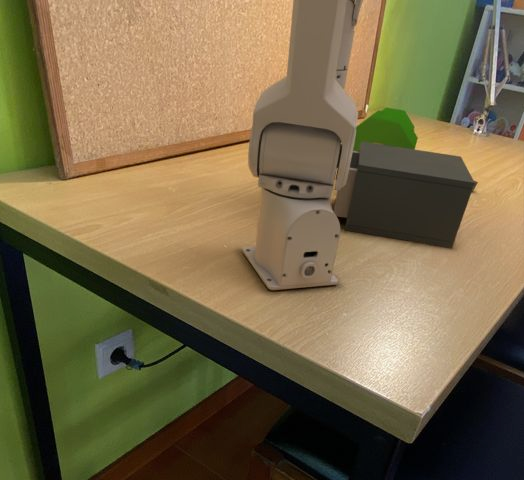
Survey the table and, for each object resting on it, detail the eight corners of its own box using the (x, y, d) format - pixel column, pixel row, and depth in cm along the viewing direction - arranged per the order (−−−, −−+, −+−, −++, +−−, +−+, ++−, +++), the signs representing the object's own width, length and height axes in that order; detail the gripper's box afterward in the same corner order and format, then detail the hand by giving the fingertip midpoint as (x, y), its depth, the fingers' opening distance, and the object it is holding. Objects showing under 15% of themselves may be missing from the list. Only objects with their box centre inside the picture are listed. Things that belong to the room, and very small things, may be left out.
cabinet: (344, 230, 67) (358, 164, 62) (348, 200, 77) (360, 141, 72) (452, 248, 66) (475, 182, 61) (441, 215, 75) (461, 156, 70)
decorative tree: (359, 110, 71) (390, 77, 93) (317, 178, 78) (355, 133, 101) (425, 156, 71) (440, 112, 94) (377, 220, 79) (402, 165, 101)
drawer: (280, 211, 68) (286, 159, 64) (291, 186, 76) (297, 139, 72) (411, 232, 66) (426, 181, 62) (406, 204, 75) (419, 158, 71)
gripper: (299, 55, 68) (286, 158, 76) (284, 69, 56) (270, 189, 64) (351, 62, 67) (333, 165, 75) (346, 78, 56) (325, 198, 64)
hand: (307, 177), depth 70 cm, fingers closed, pressing on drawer
